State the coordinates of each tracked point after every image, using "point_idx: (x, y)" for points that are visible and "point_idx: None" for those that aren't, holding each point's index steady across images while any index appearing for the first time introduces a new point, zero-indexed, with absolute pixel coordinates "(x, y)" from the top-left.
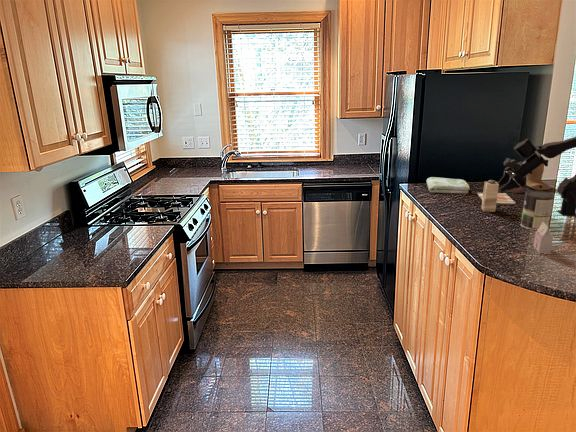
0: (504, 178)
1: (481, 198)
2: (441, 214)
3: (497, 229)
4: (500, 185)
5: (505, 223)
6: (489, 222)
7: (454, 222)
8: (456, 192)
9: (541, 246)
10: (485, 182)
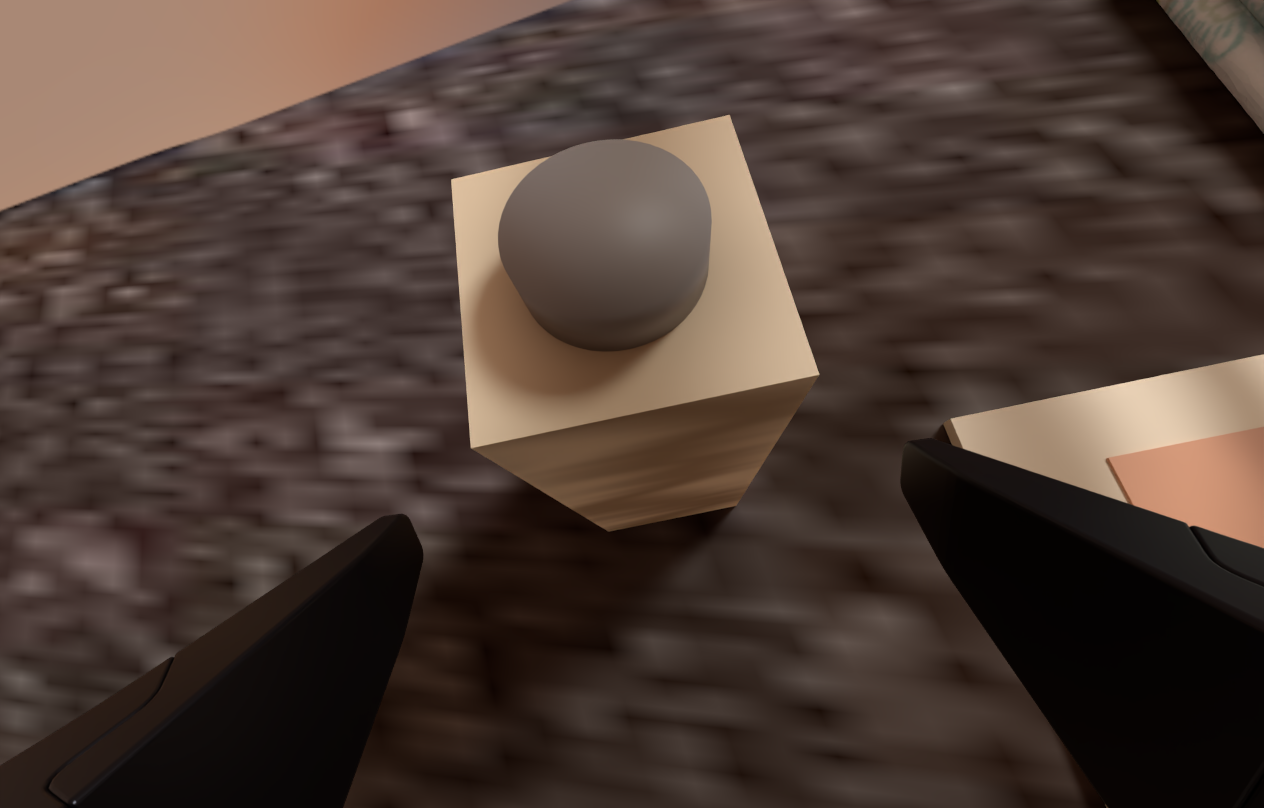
0: (1220, 684)
1: (1159, 378)
2: (410, 115)
3: (36, 527)
4: (933, 548)
5: (200, 616)
6: (227, 463)
7: (221, 212)
8: (1261, 112)
9: None
10: (630, 139)
